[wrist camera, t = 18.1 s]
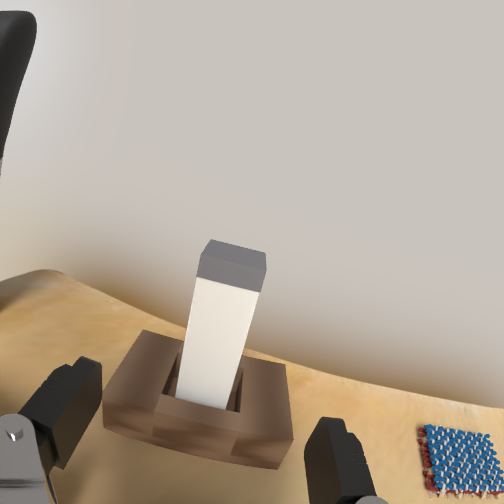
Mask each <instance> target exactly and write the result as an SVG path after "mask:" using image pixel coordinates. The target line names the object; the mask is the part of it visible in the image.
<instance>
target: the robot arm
mask: <svg viewBox="0 0 504 504" xmlns="http://www.w3.org/2000/svg"><path fill="white" fill-rule="evenodd" d="M36 33H37V23H36V19H35V17H34V15H33V14H32V13H30V12H27V11H0V175H1V165H2V157H3V151H4V145H5V142H6V138H7V135H8V131H9V128H10V124H11V119H12V115H13V111H14V107H15V103H16V99H17V96H18V93H19V90H20V87H21V83H22V80H23V78H24V74H25V72H26V69H27V66H28V63H29V60H30V57H31V54H32V51H33V47H34V44H35V39H36ZM101 399H102V365H101V363H99V362H96V361H94V360H91V359H89V358H86V357H83V356H81V357H80V358H79V359H78V360H77V361H76V362H75V364H74V365H73V366H70V365H67V364H65V365H63V366H61V367H59V368H57V369H55V370H54V371H53V372H52V373H51V374H50V375H49V377H48V378H47V380H45V381H44V382H43V384H42V385H41V387H39V388H38V389H37V391H36V392H35V393H34V394H33V395H32V397H31V398H30V399H29V400H28V402H27V403H26V404H25V405H24V406H23V408H22V409H21V410H20V411H19V412H18V413H17V414H15V413H10V414H5V415H3V416H1V417H0V504H59V503H58V500H57V497H56V494H55V490H54V487H53V484H52V480H51V476H50V471H51V469H52V468H53V466H57V467H59V468H61V469H63V470H64V468H65V466H66V464H67V462H68V461H69V459H70V457H71V455H72V453H73V451H74V450H75V448H76V446H77V444H78V443H79V441H80V439H81V437H82V436H83V434H84V432H85V430H86V429H87V427H88V425H89V423H90V422H91V420H92V418H93V416H94V415H95V413H96V411H97V410H98V408H99V406H100V403H101ZM304 461H305V469H306V478H307V486H308V494H309V503H310V504H388V503H387V502H386V501H385V500H384V499H382V498H379V497H377V495H376V492H375V488H374V485H373V481H372V478H371V475H370V471H369V468H368V465H367V464H366V463H367V461H366V458H365V456H364V452H363V448H362V445H361V442H360V441H359V440H358V439H357V437H356V436H355V435H354V434H353V433H348V432H347V430H346V426H345V423H344V420H343V419H340V418H330V417H322V418H321V419H320V420H319V422H318V424H317V425H316V427H315V429H314V431H313V432H312V434H311V436H310V438H309V439H308V441H307V443H306V446H305V450H304Z"/></svg>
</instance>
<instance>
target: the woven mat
mask: <svg viewBox="0 0 504 504" xmlns="http://www.w3.org/2000/svg"><path fill="white" fill-rule="evenodd" d="M424 428H425V429H423V428H419V437H420V439H419V443H420V444H421V452H422V454H423V460H424V467H425V471H424V472H423V473H424V475H425V476H426V480H427V482H426V486H427V490H428V494H429V498H433V493H437V494H439V497H441V498H444V496H445V494H446V495H447V499H451V493H454V494H455V497H456V498H457V499H460V498H461V497H464V498H468V494H469V495H472V498H476V494H477V495H478V496H480V498H481V499H485V497H487V499H488V500H490V495H489V494H493V495H494V497H495V498H496V499H499V498H500V497H501V493H504V487H503V486H502V485H501V484H504V480H503V477H500V475H499V474H503V473H504V472H503V470H500V467H497V466H496V464H500V461H498V460H497V459H496V458H494V457H493V456H492V455H496V454H497V453H496V452H495V451H493V449H490V447H489V446H491V447H492V446H493V443H490V440H487V439H486V438H489V437H490V435H489V434H486V435H484V434H481V433H479V432H477V433H474V432H473V433H474V435H473V433H472V432H471V431H470V430H468V432H467V431H462V430H461V429H459V430H458V431H457V430H456V429H453V428H452V427H450V429H449V428H445V429H446V430H445V429H444V428H443V427H442V425H439V427H438V426H435V425H434V426H432V424H429V425H424ZM440 432H441V433H440ZM425 433H427V434H425ZM451 446H452V447H451ZM427 447H428V449H427ZM429 448H430V449H429ZM427 452H429V454H428V453H427ZM496 460H497V461H496ZM429 463H432V464H429ZM496 478H497V479H496ZM432 480H434V481H432ZM473 484H474V485H473ZM432 486H435V487H432ZM490 489H491V490H490ZM432 491H433V492H432Z"/></svg>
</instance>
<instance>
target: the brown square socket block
mask: <svg viewBox="0 0 504 504" xmlns="http://www.w3.org/2000/svg"><path fill="white" fill-rule="evenodd" d="M184 342H185V341H181V340H178V339H174V338H170V337H167V336H163V335H160V334H156V333H153V332H150V331H146V330H142V332H141V333H140V335H139V336H138V338H137V339H136V341H135V342H134V344H133V345H132V347H131V348H130V350H129V352H128V353H127V355H126V356H125V358H124V359H123V361H122V362H121V364H120V366H119V367H118V369H117V370H116V372H115V373H114V375H113V377H112V378H111V380H110V381H109V383H108V384H107V386H106V388H105V389H104V391H103V392H102V407H103V423H104V428H106V429H109V430H112V431H114V432H117V433H120V434H123V435H126V436H129V437H132V438H135V439H138V440H141V441H144V442H147V443H151V444H154V445H157V446H161V447H164V448H168V449H172V450H175V451H179V452H183V453H187V454H191V455H196V456H200V457H204V458H209V459H214V460H219V461H224V462H229V463H235V464H241V465H247V466H254V467H261V468H269V469H278V467H279V465H280V464H281V462H282V460H283V458H284V457H285V455H286V453H287V451H288V449H289V447H290V446H291V444H292V442H293V440H294V439H293V430H292V421H291V412H290V403H289V394H288V385H287V376H286V368H285V364H281V363H275V362H270V361H265V360H261V359H256V358H251V357H247V356H242V355H241V358H240V362H239V365H238V368H237V372H236V375H235V379H234V382H233V385H232V389H231V392H230V395H229V399H228V402H227V405H226V409H225V410H223V409H219V408H214V407H210V406H206V405H202V404H198V403H194V402H190V401H186V400H182V399H178V398H175V395H176V389H177V382H178V377H179V371H180V365H181V359H182V353H183V348H184Z"/></svg>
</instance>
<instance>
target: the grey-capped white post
mask: <svg viewBox="0 0 504 504" xmlns="http://www.w3.org/2000/svg"><path fill="white" fill-rule="evenodd" d="M265 274H266V255H265V253H264V252H259V251H256V250H252V249H248V248H243V247H240V246H236V245H232V244H228V243H224V242H219V241H216V240H210V242H209V243H208V244H207V246H206V247H205V249H204V251H203V252H202V254H201V257H200V261H199V266H198V271H197V276H196V277H197V280H196V285H195V290H194V295H193V300H192V305H191V310H190V316H189V321H188V326H187V331H186V337H185V342H184V348H183V353H182V359H181V365H180V371H179V377H178V382H177V389H176V395H175V398H178V399H182V400H186V401H190V402H194V403H198V404H202V405H206V406H210V407H214V408H219V409H223V410H225V409H226V405H227V402H228V399H229V395H230V392H231V389H232V385H233V382H234V379H235V375H236V372H237V368H238V365H239V362H240V358H241V355H242V351H243V348H244V344H245V341H246V337H247V334H248V330H249V327H250V324H251V320H252V317H253V313H254V310H255V306H256V302H257V299H258V295H259V293H260V292H261V288H262V284H263V280H264V277H265Z"/></svg>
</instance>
